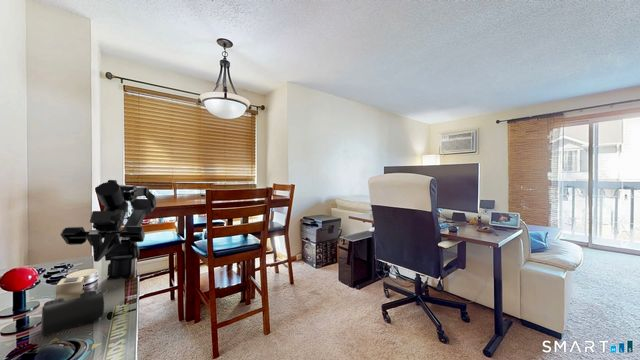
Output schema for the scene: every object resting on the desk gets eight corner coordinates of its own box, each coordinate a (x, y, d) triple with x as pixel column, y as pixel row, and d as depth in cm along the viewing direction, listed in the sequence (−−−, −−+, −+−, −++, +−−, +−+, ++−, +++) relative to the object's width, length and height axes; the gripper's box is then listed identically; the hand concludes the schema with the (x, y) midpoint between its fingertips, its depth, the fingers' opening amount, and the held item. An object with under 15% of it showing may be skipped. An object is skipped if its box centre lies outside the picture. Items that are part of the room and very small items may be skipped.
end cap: (41, 343, 51) (43, 311, 51) (38, 329, 56) (41, 300, 56) (103, 323, 59) (105, 296, 59) (96, 312, 64) (98, 287, 64)
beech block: (83, 292, 74) (85, 275, 74) (80, 298, 70) (81, 281, 70) (60, 295, 71) (61, 278, 71) (55, 303, 67) (56, 284, 67)
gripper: (66, 199, 69) (37, 248, 59) (144, 200, 77) (131, 244, 66) (79, 221, 76) (55, 268, 66) (149, 220, 84) (138, 263, 74)
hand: (96, 261), depth 68 cm, fingers closed
